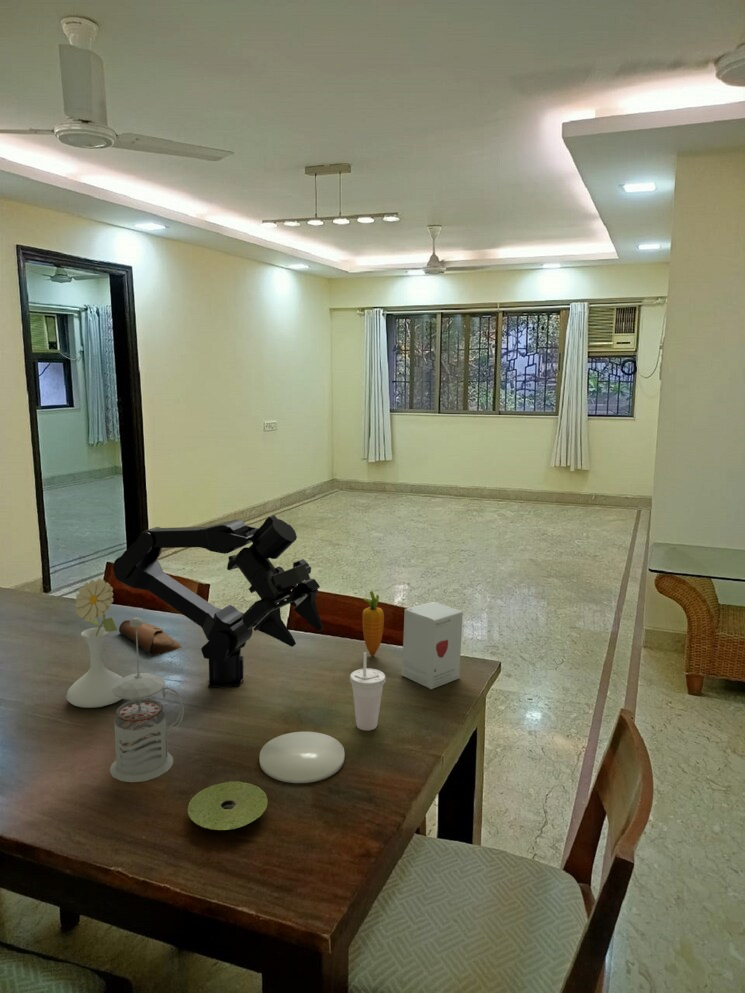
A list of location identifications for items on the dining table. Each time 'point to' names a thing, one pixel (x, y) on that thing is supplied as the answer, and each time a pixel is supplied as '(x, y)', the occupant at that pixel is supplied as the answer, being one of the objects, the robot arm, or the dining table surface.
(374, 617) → the carrot
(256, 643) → the dining table surface
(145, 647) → the sunglasses case
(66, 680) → the dining table surface
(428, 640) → the supplement box
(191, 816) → the green disc
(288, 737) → the plate
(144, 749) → the french press
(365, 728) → the smoothie
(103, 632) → the flower in vase
